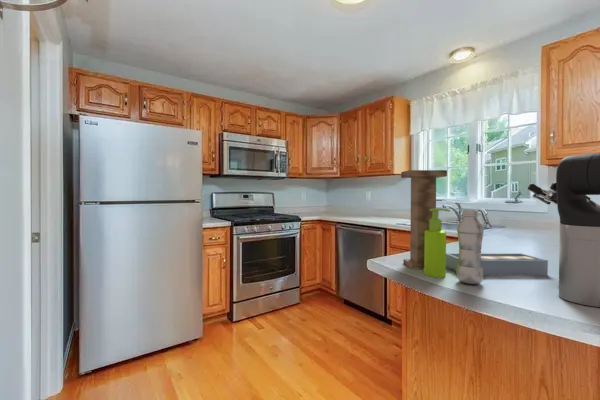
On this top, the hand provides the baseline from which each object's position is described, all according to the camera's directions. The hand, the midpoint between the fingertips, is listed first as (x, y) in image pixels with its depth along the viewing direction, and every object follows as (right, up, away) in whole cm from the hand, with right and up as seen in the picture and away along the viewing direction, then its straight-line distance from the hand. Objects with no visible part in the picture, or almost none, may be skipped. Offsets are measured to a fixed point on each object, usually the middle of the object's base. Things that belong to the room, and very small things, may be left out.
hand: (540, 185), depth 93 cm
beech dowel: (-13, -26, 0) cm, 29 cm away
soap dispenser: (-35, -27, -5) cm, 45 cm away
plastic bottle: (-30, -27, -13) cm, 43 cm away
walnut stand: (-35, -27, +6) cm, 45 cm away
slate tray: (-15, -27, 0) cm, 31 cm away
